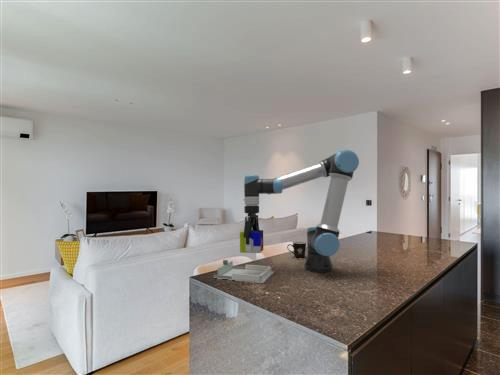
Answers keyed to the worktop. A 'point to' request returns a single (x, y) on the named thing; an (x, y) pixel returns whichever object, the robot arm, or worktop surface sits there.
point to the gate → (225, 267)
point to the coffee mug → (298, 249)
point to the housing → (248, 273)
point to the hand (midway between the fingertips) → (252, 249)
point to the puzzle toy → (252, 242)
